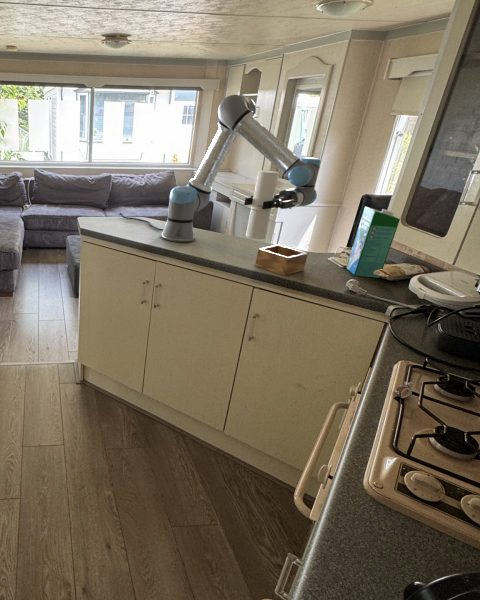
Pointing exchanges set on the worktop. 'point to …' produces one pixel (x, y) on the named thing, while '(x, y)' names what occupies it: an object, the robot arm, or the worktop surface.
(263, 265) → the holder
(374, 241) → the milk carton
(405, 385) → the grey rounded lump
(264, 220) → the cylindrical container
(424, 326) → the worktop surface
